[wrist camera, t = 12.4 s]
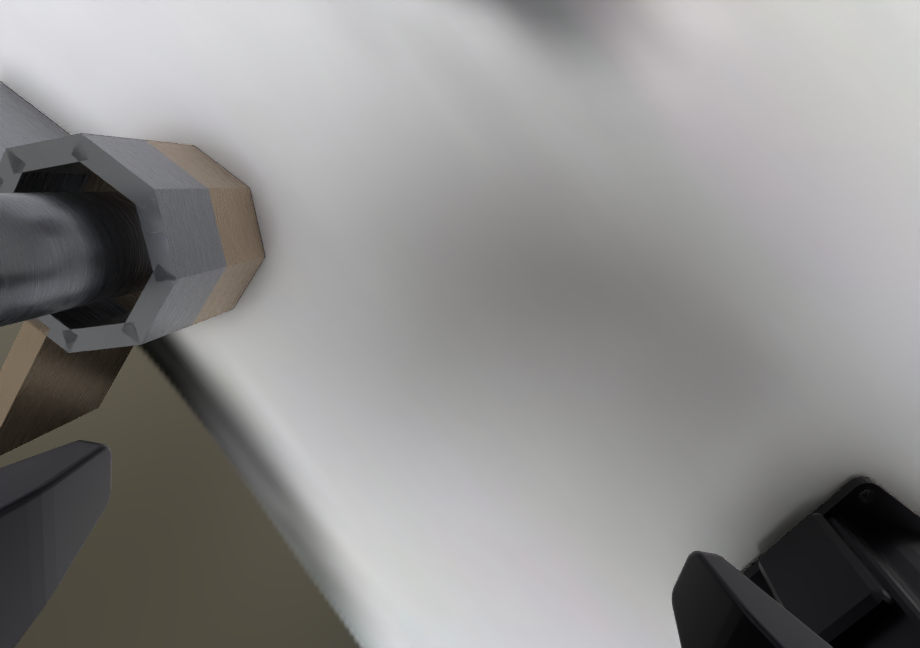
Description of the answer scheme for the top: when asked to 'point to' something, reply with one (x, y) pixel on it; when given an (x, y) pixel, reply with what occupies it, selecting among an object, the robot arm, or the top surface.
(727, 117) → the top surface
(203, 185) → the bronze hinge
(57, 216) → the hinge pin
